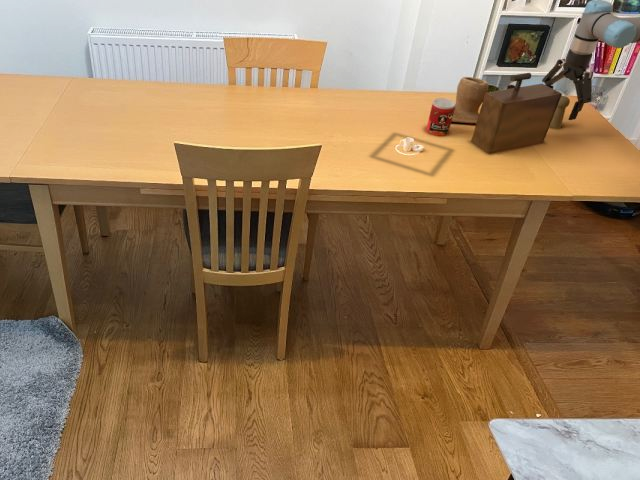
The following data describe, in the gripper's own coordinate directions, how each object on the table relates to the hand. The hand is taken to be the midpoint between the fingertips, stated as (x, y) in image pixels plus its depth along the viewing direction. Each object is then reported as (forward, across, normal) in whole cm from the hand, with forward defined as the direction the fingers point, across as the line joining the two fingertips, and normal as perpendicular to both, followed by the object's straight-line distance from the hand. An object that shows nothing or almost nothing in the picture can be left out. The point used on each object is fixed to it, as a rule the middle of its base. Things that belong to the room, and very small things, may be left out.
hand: (557, 111), depth 210 cm
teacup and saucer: (+6, -1, +62) cm, 62 cm away
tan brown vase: (+6, +16, +29) cm, 34 cm away
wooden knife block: (-6, -10, +26) cm, 28 cm away
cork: (+6, 0, 0) cm, 6 cm away
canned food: (+6, +10, +44) cm, 45 cm away
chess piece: (+6, +17, +8) cm, 20 cm away
